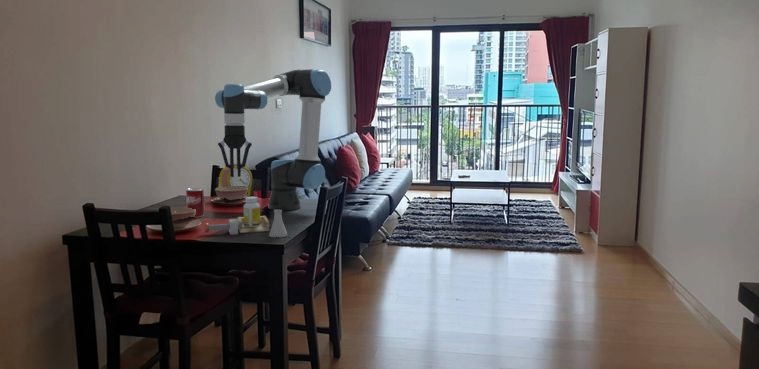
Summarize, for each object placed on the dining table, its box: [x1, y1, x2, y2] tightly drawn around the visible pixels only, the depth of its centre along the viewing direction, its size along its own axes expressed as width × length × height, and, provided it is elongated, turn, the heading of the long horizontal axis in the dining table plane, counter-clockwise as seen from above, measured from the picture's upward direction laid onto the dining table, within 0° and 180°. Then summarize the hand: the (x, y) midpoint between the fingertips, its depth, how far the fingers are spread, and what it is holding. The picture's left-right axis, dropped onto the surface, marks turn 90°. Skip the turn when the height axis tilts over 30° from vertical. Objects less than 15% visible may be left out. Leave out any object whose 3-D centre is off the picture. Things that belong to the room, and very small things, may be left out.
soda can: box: [185, 187, 205, 219], centre depth 245 cm, size 7×7×12 cm
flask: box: [268, 210, 289, 239], centre depth 213 cm, size 7×7×10 cm
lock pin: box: [203, 222, 240, 234], centre depth 216 cm, size 13×4×4 cm, turn 108°
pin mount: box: [228, 218, 239, 236], centre depth 218 cm, size 3×6×5 cm, turn 18°
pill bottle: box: [242, 196, 261, 227], centre depth 225 cm, size 6×6×12 cm
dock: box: [236, 215, 271, 234], centre depth 225 cm, size 11×12×3 cm
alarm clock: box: [218, 162, 253, 197], centre depth 286 cm, size 15×8×18 cm, turn 137°
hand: (235, 185), depth 219 cm, fingers closed
